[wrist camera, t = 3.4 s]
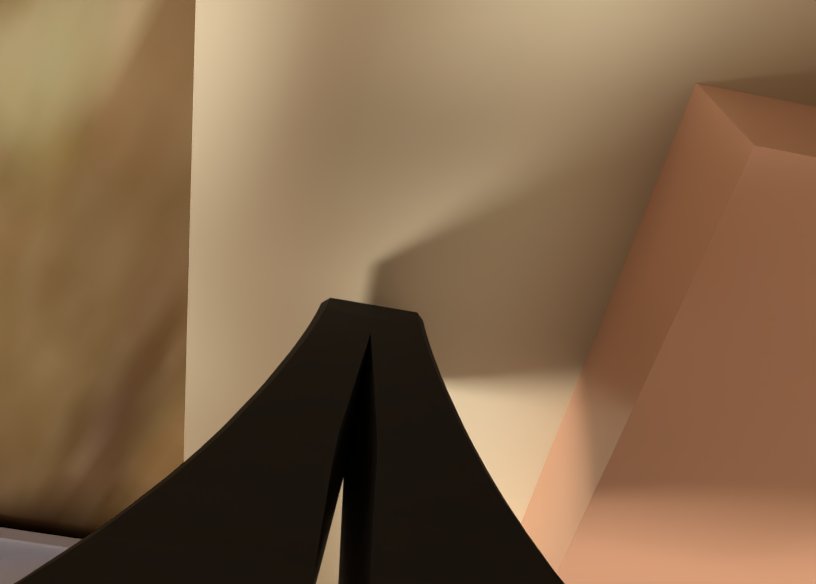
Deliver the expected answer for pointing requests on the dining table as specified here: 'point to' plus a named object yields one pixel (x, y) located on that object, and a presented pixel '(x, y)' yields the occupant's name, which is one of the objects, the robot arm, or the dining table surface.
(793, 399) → the tile
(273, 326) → the deck
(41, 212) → the dining table surface
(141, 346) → the dining table surface
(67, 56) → the dining table surface
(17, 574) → the robot arm
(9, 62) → the dining table surface
